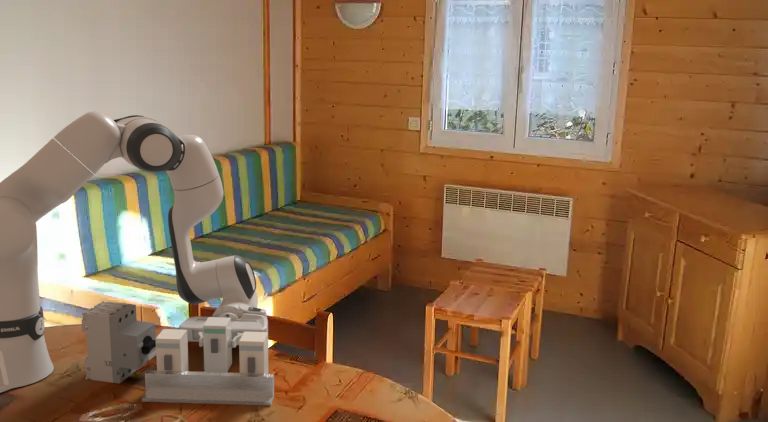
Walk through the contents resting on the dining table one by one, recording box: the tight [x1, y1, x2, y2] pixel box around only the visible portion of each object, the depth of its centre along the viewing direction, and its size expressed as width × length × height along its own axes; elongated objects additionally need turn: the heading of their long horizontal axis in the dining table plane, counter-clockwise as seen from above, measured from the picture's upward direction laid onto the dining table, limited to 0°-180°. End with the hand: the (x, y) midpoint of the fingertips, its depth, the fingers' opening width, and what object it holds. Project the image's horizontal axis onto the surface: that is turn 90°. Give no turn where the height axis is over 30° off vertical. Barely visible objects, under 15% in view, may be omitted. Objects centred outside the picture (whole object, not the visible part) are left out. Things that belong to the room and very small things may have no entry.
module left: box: [155, 328, 190, 371], centre depth 146 cm, size 5×6×12 cm
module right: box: [238, 331, 269, 374], centre depth 146 cm, size 5×6×12 cm
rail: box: [141, 369, 275, 406], centre depth 143 cm, size 26×4×5 cm, turn 89°
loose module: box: [203, 316, 233, 373], centre depth 156 cm, size 5×6×11 cm
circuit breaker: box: [81, 300, 157, 384], centre depth 151 cm, size 8×14×15 cm, turn 78°
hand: (216, 344), depth 156 cm, fingers closed on loose module, 5 cm apart
